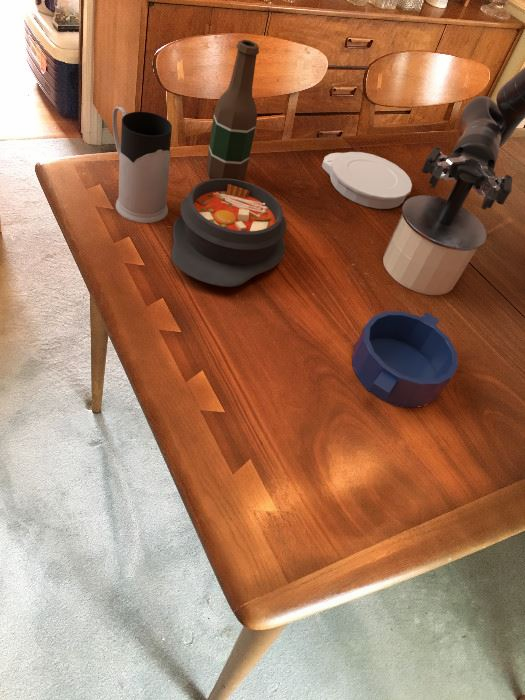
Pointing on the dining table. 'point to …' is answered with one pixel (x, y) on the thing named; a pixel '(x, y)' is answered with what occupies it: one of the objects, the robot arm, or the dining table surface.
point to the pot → (423, 262)
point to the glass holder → (143, 165)
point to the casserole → (228, 232)
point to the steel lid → (446, 218)
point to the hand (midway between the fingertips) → (460, 193)
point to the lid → (368, 179)
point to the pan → (404, 358)
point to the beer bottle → (234, 119)
